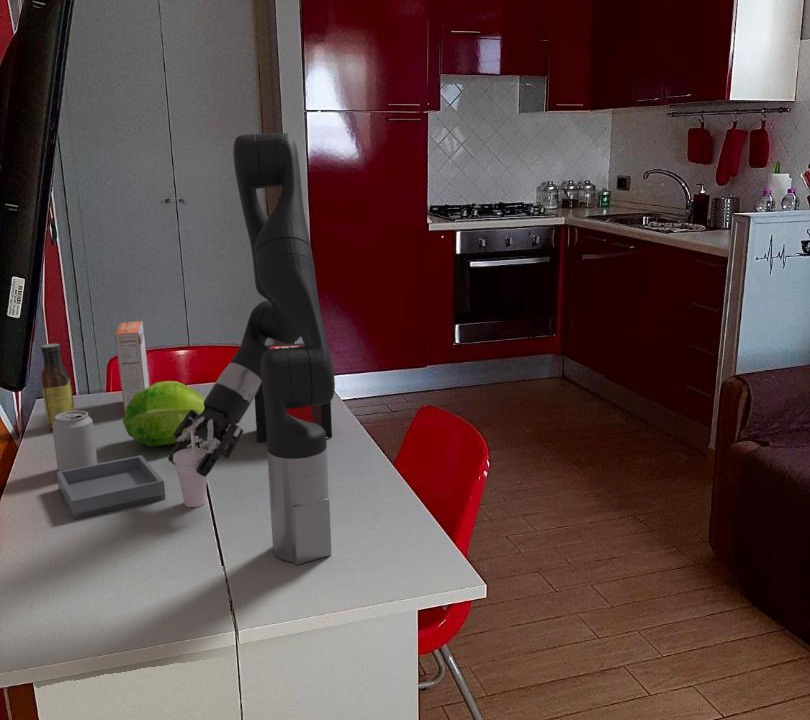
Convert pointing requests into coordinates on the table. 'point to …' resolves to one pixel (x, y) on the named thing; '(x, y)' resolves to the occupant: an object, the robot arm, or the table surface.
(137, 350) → the cracker box
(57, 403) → the sauce bottle
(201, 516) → the table surface
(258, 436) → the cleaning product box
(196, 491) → the smoothie
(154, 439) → the lettuce
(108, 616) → the table surface
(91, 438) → the can
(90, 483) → the tray
